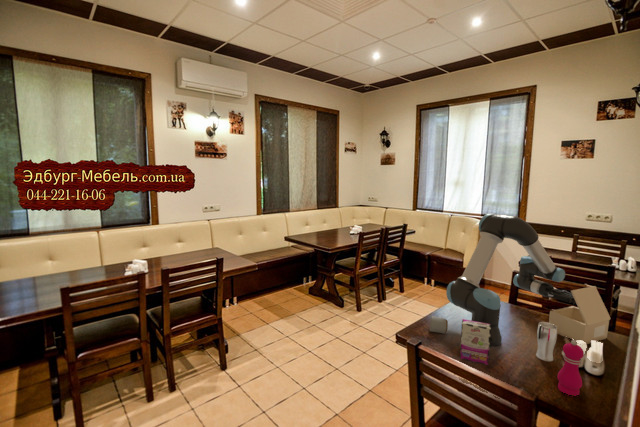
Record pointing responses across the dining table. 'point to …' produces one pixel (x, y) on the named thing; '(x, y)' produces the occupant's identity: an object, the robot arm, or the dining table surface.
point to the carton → (577, 325)
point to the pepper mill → (571, 369)
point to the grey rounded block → (438, 325)
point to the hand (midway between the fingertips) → (591, 305)
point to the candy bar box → (475, 341)
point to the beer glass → (546, 340)
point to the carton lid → (590, 305)
